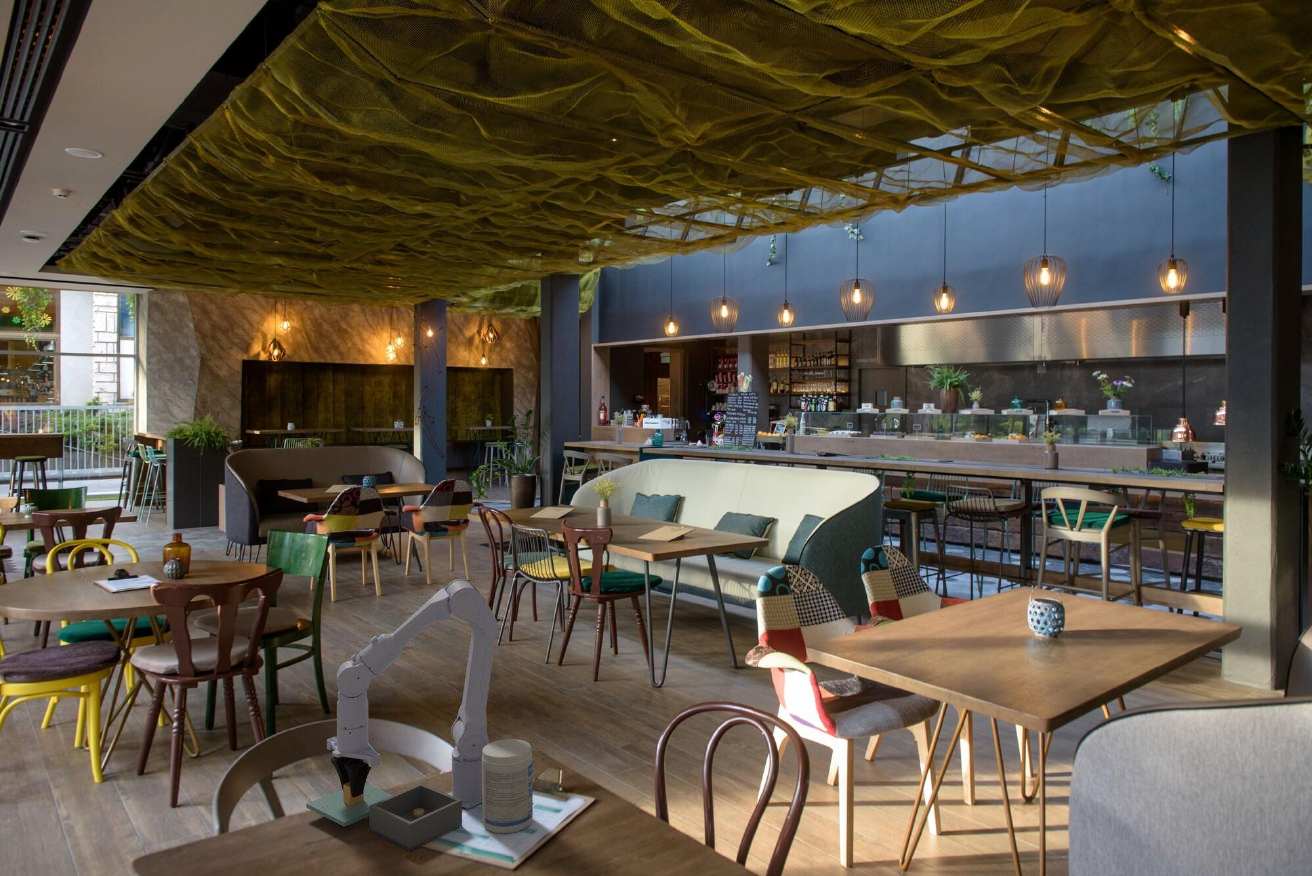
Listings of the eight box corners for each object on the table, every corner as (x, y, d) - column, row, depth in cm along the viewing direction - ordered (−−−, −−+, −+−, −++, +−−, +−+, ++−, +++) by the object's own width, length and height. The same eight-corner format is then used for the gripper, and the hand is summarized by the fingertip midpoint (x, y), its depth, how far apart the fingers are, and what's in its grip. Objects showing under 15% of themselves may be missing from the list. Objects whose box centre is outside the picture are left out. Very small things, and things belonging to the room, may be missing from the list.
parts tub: (421, 808, 171) (421, 783, 171) (462, 826, 164) (462, 800, 164) (369, 831, 161) (369, 805, 161) (410, 851, 154) (410, 824, 154)
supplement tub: (541, 827, 164) (541, 750, 163) (494, 840, 159) (494, 762, 158) (519, 807, 172) (519, 734, 171) (474, 819, 167) (474, 744, 166)
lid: (362, 789, 176) (362, 764, 176) (400, 806, 169) (400, 780, 169) (306, 811, 166) (306, 785, 166) (344, 831, 159) (344, 803, 159)
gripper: (312, 721, 168) (313, 790, 169) (357, 739, 160) (357, 811, 160) (344, 711, 174) (344, 778, 174) (389, 728, 165) (389, 797, 166)
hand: (353, 793), depth 168 cm, fingers closed on lid, 2 cm apart
